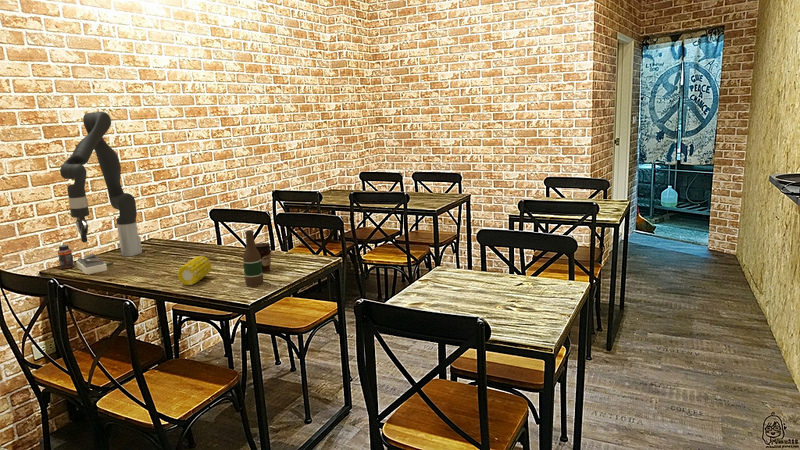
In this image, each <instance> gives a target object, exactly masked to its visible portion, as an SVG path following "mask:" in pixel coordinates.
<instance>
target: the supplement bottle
mask: <svg viewBox="0 0 800 450" xmlns="http://www.w3.org/2000/svg"><path fill="white" fill-rule="evenodd" d="M69 247H70V246H69V244H62V245H59V246H58V251H57V257H58V262H59V266H60V269H62V268H63V270H65V268H68V269H72V268H74V267H75V262H74V257H73V256H74V255H73V252H72V248H69ZM73 266H74V267H73ZM71 267H72V268H71Z"/></svg>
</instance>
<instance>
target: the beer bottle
mask: <svg viewBox="0 0 800 450" xmlns="http://www.w3.org/2000/svg"><path fill="white" fill-rule="evenodd" d="M244 234H245V243H246V244H245V245H246V246H245V250H244V252H243V255H242V264H243V273H244V282H245V284H246V286H247V287H250V286H255V287H259V286H258V285H260V286H261V285H263V284H264V273H263V272H262V261H261V255H260V253H259V252H258V250H257V249H256V246H255V244H256V241H255V235H254V234H255V231H254V230H253V229H248V230H245V232H244ZM262 283H263V284H262Z"/></svg>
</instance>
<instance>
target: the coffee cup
mask: <svg viewBox="0 0 800 450" xmlns="http://www.w3.org/2000/svg"><path fill="white" fill-rule="evenodd" d="M255 246H256V249H257V250H258V252H259V253H260V255H261V261H262V272H263V274H264V273H269V272H270V271H271V265H272V264H271V263H272V262H271V261H272V259H271V258H272V254H271V248H272V247H271V243H269V242H260V243H258V242H257V243H255Z"/></svg>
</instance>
